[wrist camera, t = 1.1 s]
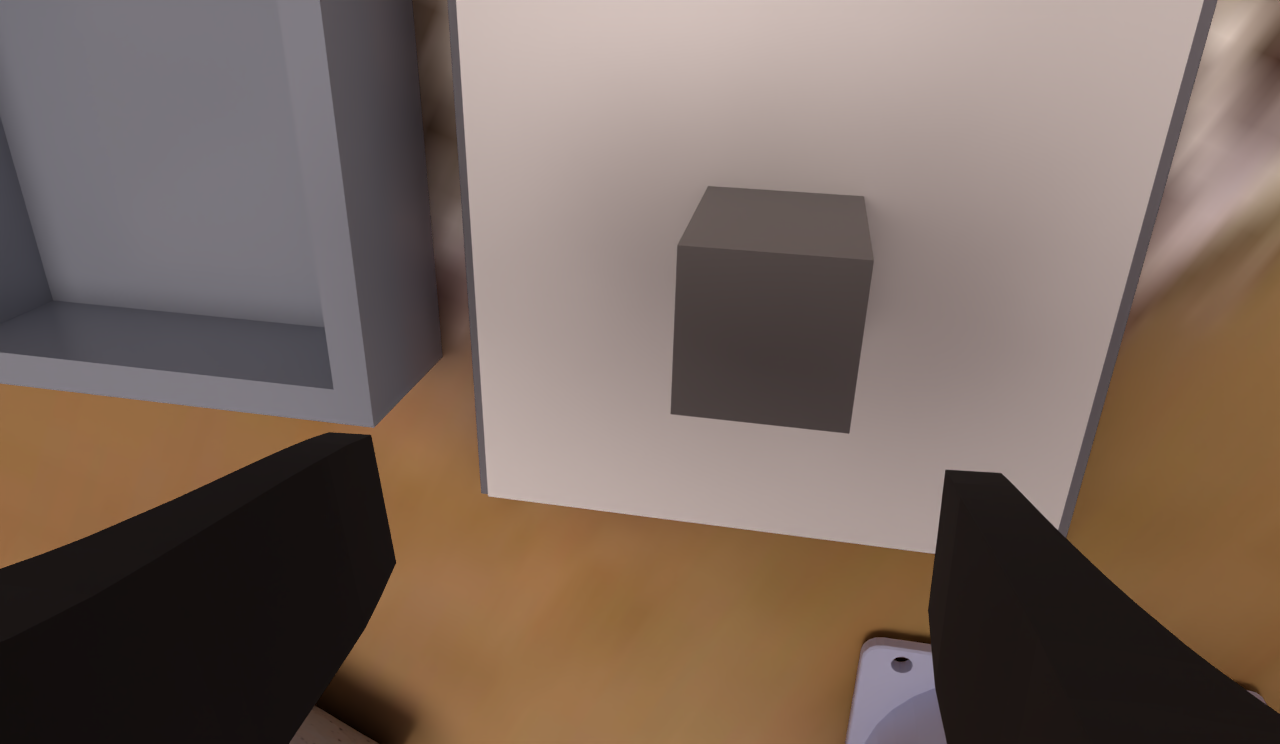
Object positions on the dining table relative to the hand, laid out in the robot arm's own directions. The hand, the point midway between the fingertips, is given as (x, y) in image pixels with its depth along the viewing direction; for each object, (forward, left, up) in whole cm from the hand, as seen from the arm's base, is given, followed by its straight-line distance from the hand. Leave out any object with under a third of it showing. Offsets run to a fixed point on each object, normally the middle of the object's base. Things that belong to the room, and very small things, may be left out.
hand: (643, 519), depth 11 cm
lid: (-1, -1, -9) cm, 9 cm away
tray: (+12, -3, -10) cm, 16 cm away
